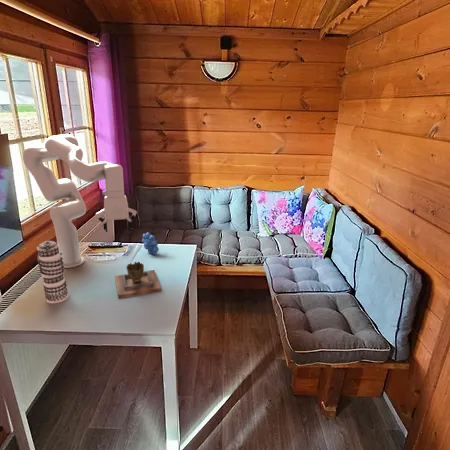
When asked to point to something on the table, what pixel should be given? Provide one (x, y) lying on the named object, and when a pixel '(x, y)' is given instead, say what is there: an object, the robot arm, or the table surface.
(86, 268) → the table surface
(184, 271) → the table surface
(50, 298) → the decorative candle
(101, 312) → the table surface
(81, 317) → the table surface
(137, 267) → the cup
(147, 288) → the mounting board
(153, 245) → the grapes
